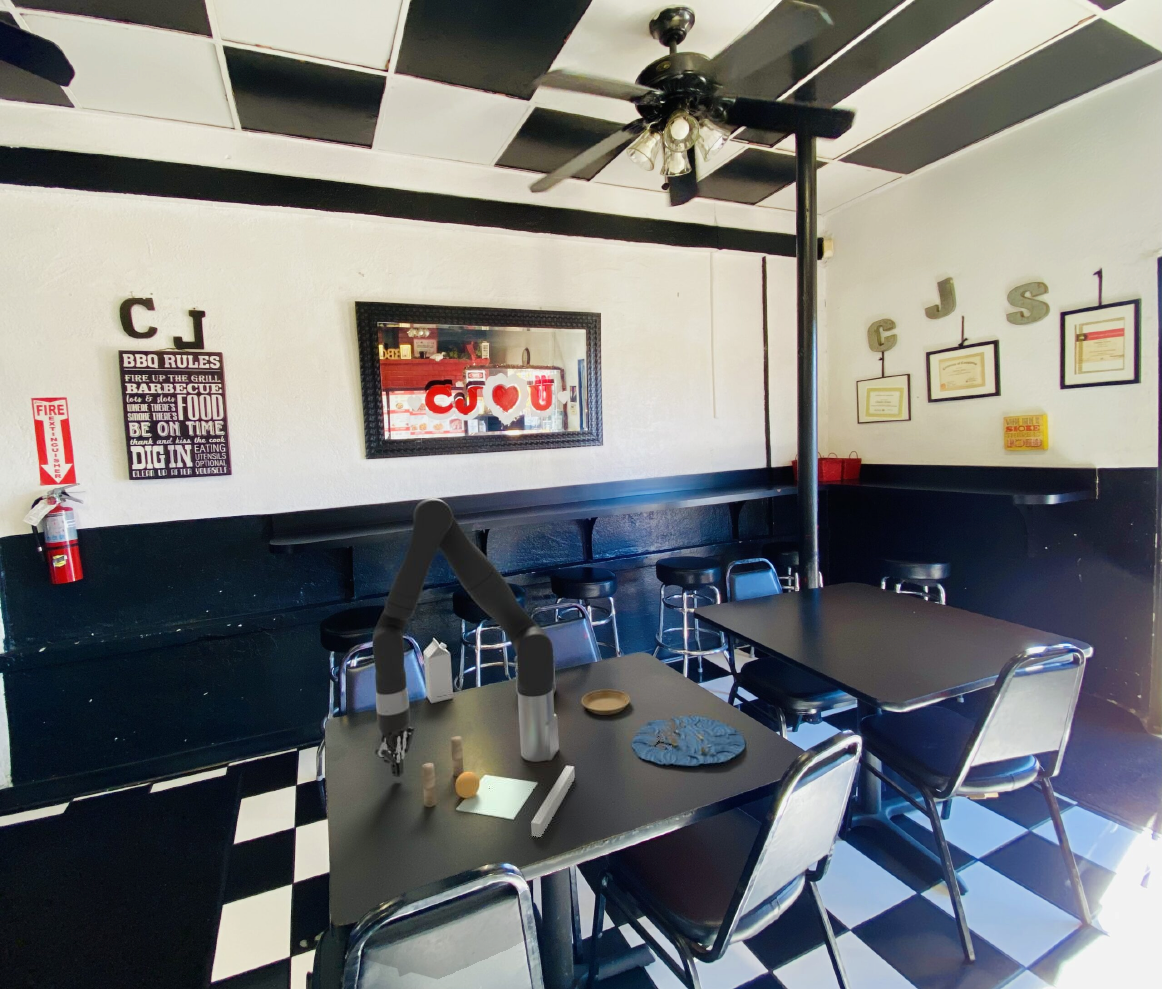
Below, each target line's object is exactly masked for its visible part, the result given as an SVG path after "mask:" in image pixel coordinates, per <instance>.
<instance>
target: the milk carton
mask: <svg viewBox="0 0 1162 989" xmlns="http://www.w3.org/2000/svg"><path fill="white" fill-rule="evenodd" d="M446 648H447V644H445V643H444V642H440V644H439V642H438V641H437V640H436V639H435V638H434V637H433V638H432V641H431V643H430V644H429V645H428V646H427V647H426V648H425V649H424V651H423V665H424V678H425V679H424V681H425V694H426V697H427V699H428V700H429V702H430V703H431V704H435V703H438V702H443V701H446V700H451V699H453V698H454V692H453V689H454V688H453V677H452V676H453V675H452V660H451V652H449V651H448V650H447V649H446ZM449 694H453V695H449ZM443 695H447V696H443ZM437 696H442V697H437Z"/></svg>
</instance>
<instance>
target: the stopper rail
mask: <svg viewBox="0 0 1162 989" xmlns="http://www.w3.org/2000/svg"><path fill="white" fill-rule="evenodd" d="M575 777H576V776H575V766H572V765H565V767H564V769H563V771H562V772H561V774H560V775H559V777H558V778H557V780H556V782H555V784H554V785H553V786H552V788H551V790H550V791H549V792H548V795H547V796H546V798H545V799H544V801H543V802H542V804H541V806H540V808H539V809H538V811H537V812H536V813H535V816H534V817H533V819H532V820H531V821H530V826H531V827H530V828H531V837H533V836H534V838H538V837H541V836H542V837H543V835H542V834H544V833H545V832H544V831H546V830H545V829H547V828H548V826H549V825H548V824H550V823H551V821H552V819H553V818H554V815H556V812H557V810H558V809H559V807H560V805H561V803H562V802H563V800H564V798H565V796H566V794H567V793H568V791H569V790H568V789H570V787H572V786H571V785H572V784H573V783H572V782H574V781H575V779H574V778H575ZM552 817H553V818H552ZM535 836H536V837H535ZM542 837H541V838H542Z"/></svg>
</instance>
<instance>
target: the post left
mask: <svg viewBox="0 0 1162 989" xmlns="http://www.w3.org/2000/svg"><path fill="white" fill-rule="evenodd" d="M434 766H435V765H434V763H433V762H427V763H426V762H425V763H424V764H422V766H421V774H422V786H423V800H424V803H423V804H424V807H426V808H431V807H434V806H436V805H437V794H436V777H435V767H434Z"/></svg>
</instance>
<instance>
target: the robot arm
mask: <svg viewBox="0 0 1162 989" xmlns="http://www.w3.org/2000/svg"><path fill="white" fill-rule="evenodd" d="M412 518H413V526H412V527H413V528H412V534H411V538H410V543H409V545H408V548H407V552H406V553H405V554H406V555H405V556H404V559H403V560H402V563H401V566H400V567H399V568H398V569H399V570H398V572H397V574H396V576H395V578H394V581H393V583H392V585H391V588H390V590H389V594H388V596H387V599H386V601H385V604H384V609H383V611H382V613H381V615H380V617H379V619H378V621H377V624H376V626H375V628H374V631H373V635H372V642H371V643H372V653H373V654H372V655H373V661H374V667H375V676H374V677H375V692H376V695H375V696H376V697H375V706H376V718H377V719H376V720H377V727H378V729H379V731H380V732H381V738H380V740H381V745H380V748H376V749H375V752H374V753H375V755H376V756H377V757H378V758H379V759H380V760H381V761H382V762H383V763H385V764H390V770H391V775H392V777H397V778H400V777H401V776H402V775H403V774H404V759H405V754H408V753H409V751H410V746H411V744H412V740H413V737H414V732H415V727H412V726H411V727H410V726H409V724H410V723H411V714H410V712H411V710H410V701H409V700H410V699H409V697H410V696H409V693H408V691H409V690H408V688H407V686H408V684H407V674H406V668H405V643H404V634H405V631H406V628H407V625H408V623H409V620H410V619H412V617H413V615H414V613H415V610H416V608H417V605H418V603H419V600H420V597H421V594H422V591H423V588H424V585H425V582H426V579H427V576H428V573H429V570H430V567H431V564H432V562H433V560H434V557H435V555H436V553H437V551H438V550H440V552H441V553H442V555H443V556H444V557H445V559H446V560H447V562H448V564H449V566H450V568H451V570H452V571H453V573H454V575H455V576H456V578H457V580H458V581H459V582H460V584H461V586H462V587H463V588H464V590H465V591H466V592H467V593H468V595H469V596H470V597H471V599H472V600H473V601H474V602H475V604H477V605H478V607H479V608H481V610H482V611H484V612H485V613H486V614H487V616H489V617H490V618H492V619H493V620H494V621H495V622H496V623H497V624H498V626H499V627H500V628H501V629H502V631H503V632H504V634H505V635H506V637H507V639H508V641H510V643H511V645H512V648H513V650H514V652H515V654H516V656H517V662H518V681H517V684H516V686H517V690H518V695H517V705H518V723H519V724H518V726H519V738H520V739H519V740H520V755H521V757H522V758H523V759H524V760H525V761H528V762H533V763H534V762H535V763H536V762H543V761H545V762H546V761H552V760H553V758H554V756H555V755H556V754H557V753H558V751H559V749H560V746H559V745H560V742H559V727H558V725H559V723H558V714H556V713H555V706H554V705H555V700H554V694H553V680H554V665H555V663H554V662H555V661H554V659H555V658H554V659H553V654H554V647H553V643H552V640H551V639H550V637H549V635H547V632H546V631H545V630H544V629H543V628H542V627H540V625H538V623H537V622H535V620H534V619H533V618H532V617H531V616H530V615H529V614H528V613H527V612H526V610H524V609H523V607H522V606H521V604H520V603H519V601H518V599H517V598H516V596H515V593H514V591H513V590H512V588H511V587H510V585H509V584H508V583H507V581H506V579H505V578H504V576H502V574H501V573H500V571H499V570H498V569H497V568H496V566H495V565H494V563H492V561H491V560H490V559H489V558H488V557H487V556H486V555H485V554H484V553H483V551H481V550H480V549H479V547H478V546H476V544H474V543H473V542H472V541H471V540H470V538H469V537H468V536H467V535H466V533H465V532H464V530H463V529H462V528H461V525H459V523H458V522H457V519H456V518H455V516H454V514H453V511H452V509H451V507H450V505H448V504H447V503H446V502H445V501H444V500H442V499H440V498H437V497H436V498H435V497H428V498H425V499H422V500H421V501H420V502H419V503H417V505H416V506H415V509H414V512H413V517H412Z"/></svg>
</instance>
